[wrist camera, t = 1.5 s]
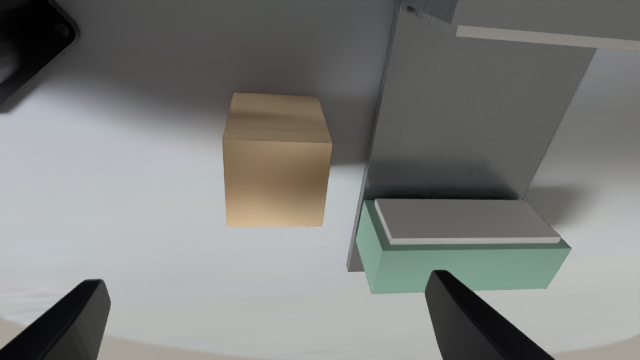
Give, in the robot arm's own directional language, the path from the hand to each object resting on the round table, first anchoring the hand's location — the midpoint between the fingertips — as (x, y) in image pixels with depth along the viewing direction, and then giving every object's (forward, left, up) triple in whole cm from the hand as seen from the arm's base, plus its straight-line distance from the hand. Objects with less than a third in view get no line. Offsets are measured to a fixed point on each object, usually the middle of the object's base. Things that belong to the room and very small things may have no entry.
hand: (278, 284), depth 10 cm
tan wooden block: (0, 0, -10) cm, 10 cm away
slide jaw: (+5, -10, -9) cm, 14 cm away
